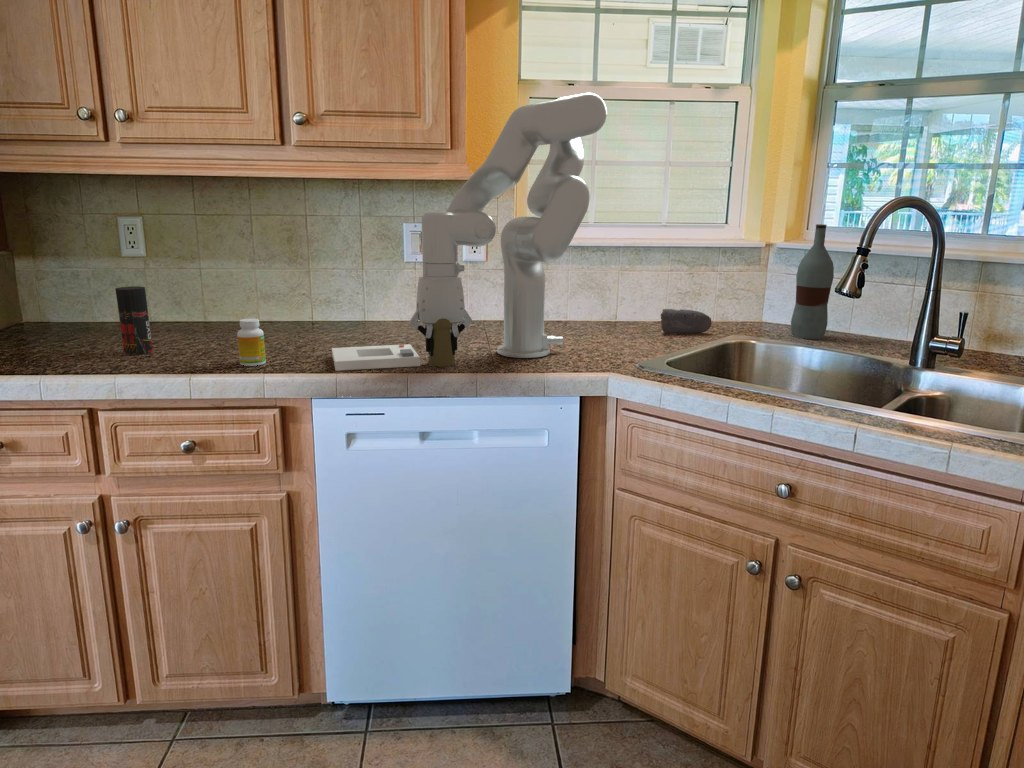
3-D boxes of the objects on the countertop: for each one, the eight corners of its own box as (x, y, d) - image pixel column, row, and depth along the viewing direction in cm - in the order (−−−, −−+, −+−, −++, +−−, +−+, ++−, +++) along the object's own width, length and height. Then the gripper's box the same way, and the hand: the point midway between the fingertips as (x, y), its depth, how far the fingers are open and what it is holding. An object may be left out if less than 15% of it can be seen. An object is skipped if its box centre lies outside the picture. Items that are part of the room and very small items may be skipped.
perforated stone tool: (707, 332, 195) (709, 307, 193) (714, 335, 189) (716, 310, 188) (655, 332, 193) (656, 307, 192) (660, 335, 188) (662, 310, 187)
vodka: (833, 339, 186) (848, 225, 179) (806, 341, 183) (820, 225, 176) (808, 332, 195) (822, 223, 187) (781, 334, 192) (794, 223, 184)
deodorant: (125, 350, 162) (116, 287, 158) (153, 349, 165) (145, 286, 161) (122, 356, 157) (113, 290, 153) (152, 354, 159) (143, 289, 155)
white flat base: (410, 352, 164) (409, 340, 163) (420, 365, 151) (419, 353, 150) (332, 356, 159) (331, 344, 158) (335, 370, 146) (334, 357, 145)
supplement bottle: (266, 365, 150) (262, 321, 147) (239, 367, 148) (235, 322, 146) (265, 360, 155) (262, 317, 152) (240, 361, 153) (236, 318, 150)
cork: (441, 359, 158) (441, 311, 155) (461, 363, 154) (460, 314, 151) (422, 363, 153) (421, 314, 150) (441, 368, 149) (440, 317, 147)
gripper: (474, 268, 154) (474, 349, 159) (398, 270, 149) (401, 352, 154) (482, 272, 147) (482, 355, 152) (403, 273, 142) (406, 360, 147)
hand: (441, 353), depth 153 cm, fingers closed on cork, 4 cm apart
